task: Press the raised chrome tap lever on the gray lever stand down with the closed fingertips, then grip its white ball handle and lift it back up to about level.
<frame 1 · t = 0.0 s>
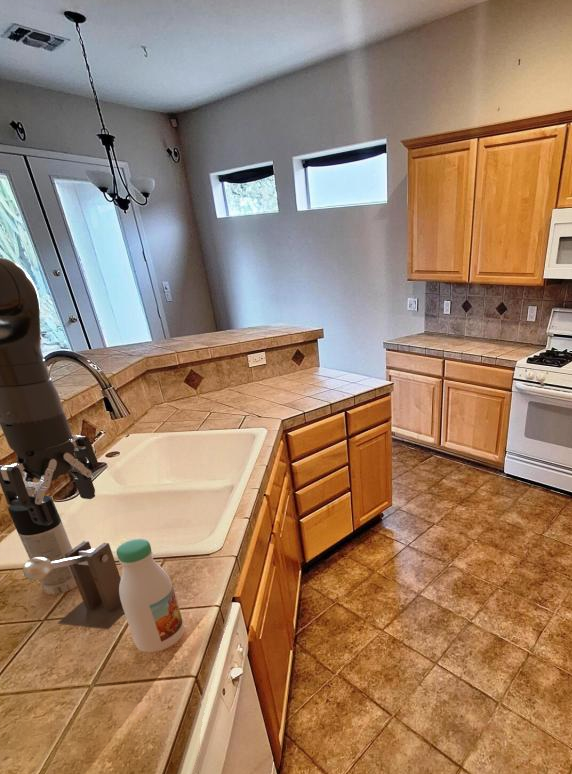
hand: (67, 510, 69), 24 cm above the counter, tool pointing down, fingers open, 8 cm apart
tap lever: (64, 562, 72), point 14 cm above the counter, hinge at 25.0°
spray can: (65, 588, 88), on the counter
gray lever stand: (108, 607, 83), on the counter
milk bottle: (162, 640, 76), on the counter
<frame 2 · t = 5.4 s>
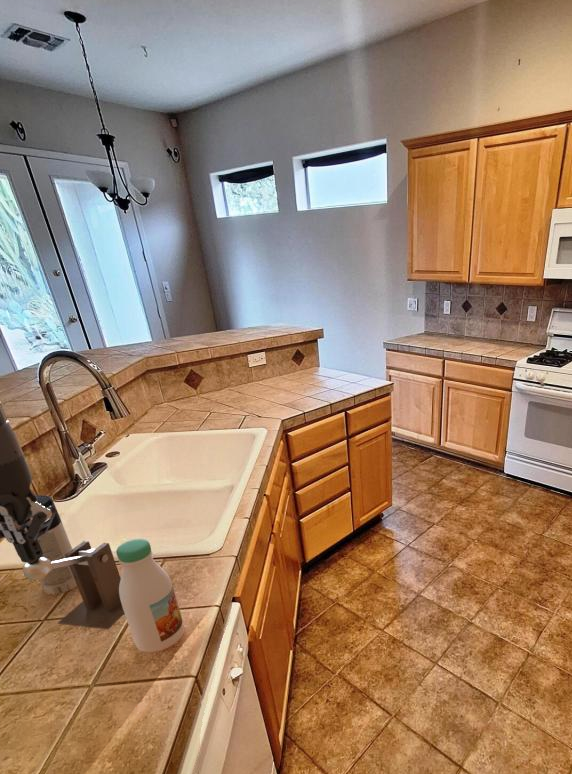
hand: (33, 559, 67), 18 cm above the counter, tool pointing down, fingers closed
tap lever: (64, 562, 72), point 14 cm above the counter, hinge at 25.0°, touching gripper
everything else where it was.
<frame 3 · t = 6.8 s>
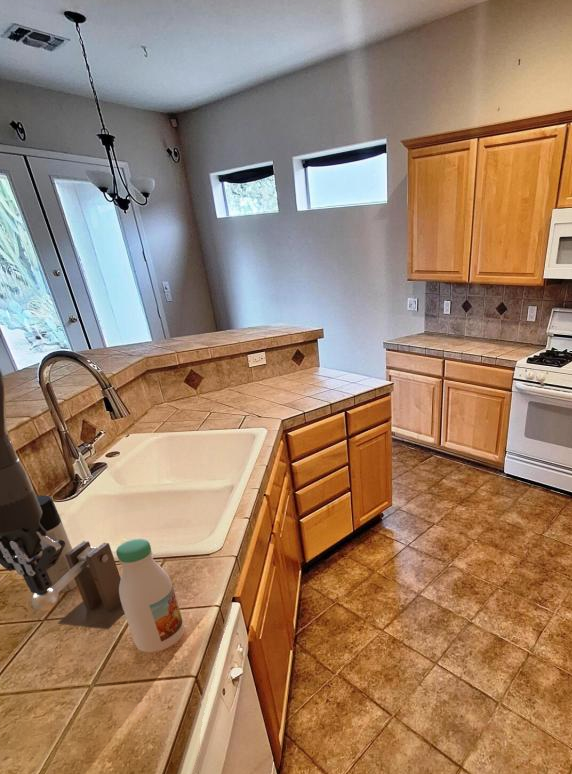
hand: (42, 589, 69), 13 cm above the counter, tool pointing down, fingers closed
tap lever: (68, 577, 73), point 11 cm above the counter, hinge at -7.2°, touching gripper
everything else where it was.
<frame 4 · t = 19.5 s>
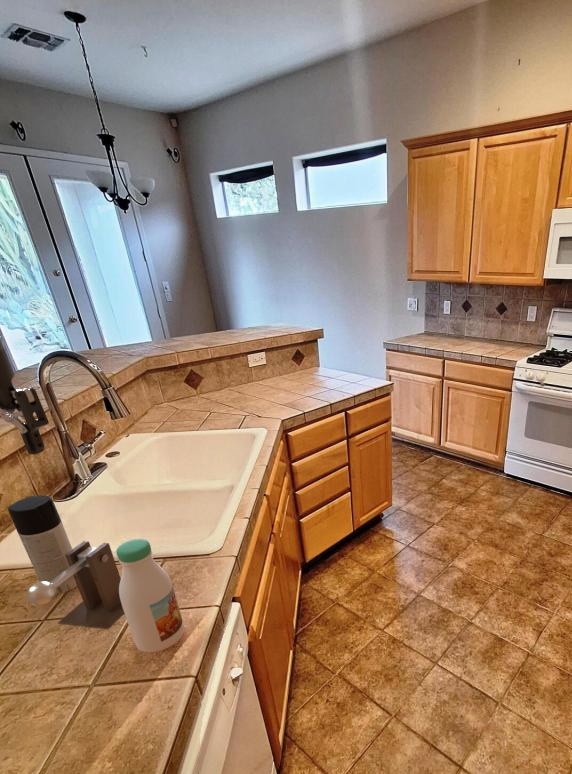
hand: (13, 451, 69), 32 cm above the counter, tool pointing down, fingers open, 8 cm apart
tap lever: (66, 574, 73), point 12 cm above the counter, hinge at 0.5°
everything else where it was.
at the end: tap lever reached -21° during the clip, +0° at the end; tap lever at +0° (first picture: +25°) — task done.
